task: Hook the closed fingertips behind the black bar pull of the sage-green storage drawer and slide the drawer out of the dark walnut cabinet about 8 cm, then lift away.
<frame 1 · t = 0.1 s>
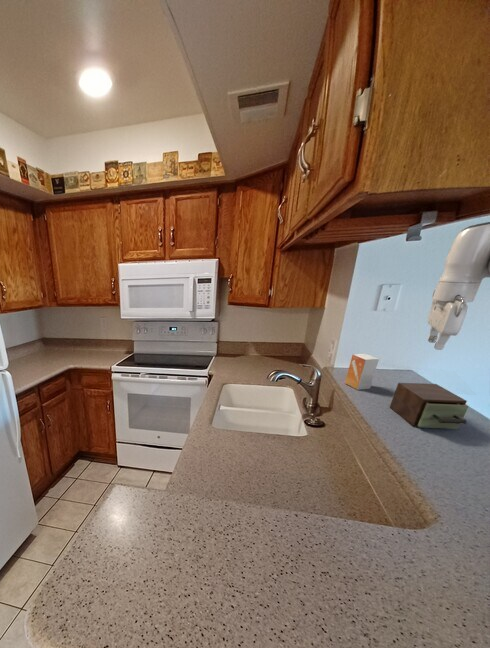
hand: (434, 345, 94), 26 cm above the worktop, tool pointing down, fingers open, 8 cm apart
cabinet: (419, 417, 113), on the worktop
drawer: (433, 410, 107), point 5 cm above the worktop, slide at 1.0 cm
small box: (356, 386, 141), on the worktop
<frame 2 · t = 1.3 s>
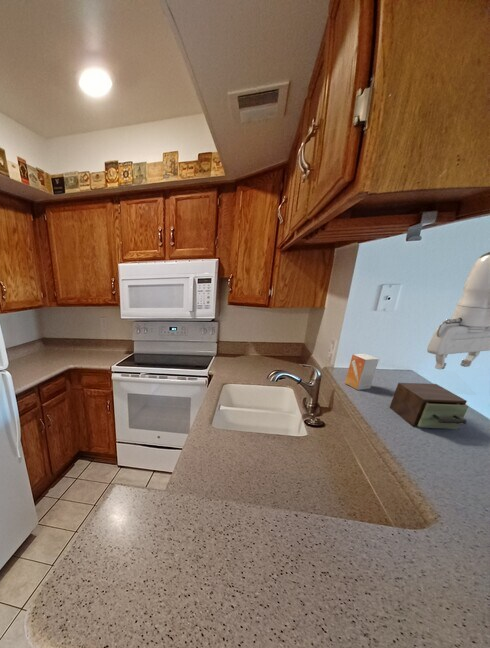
hand: (452, 367, 95), 21 cm above the worktop, tool pointing down, fingers open, 8 cm apart
nothing on the worktop moved.
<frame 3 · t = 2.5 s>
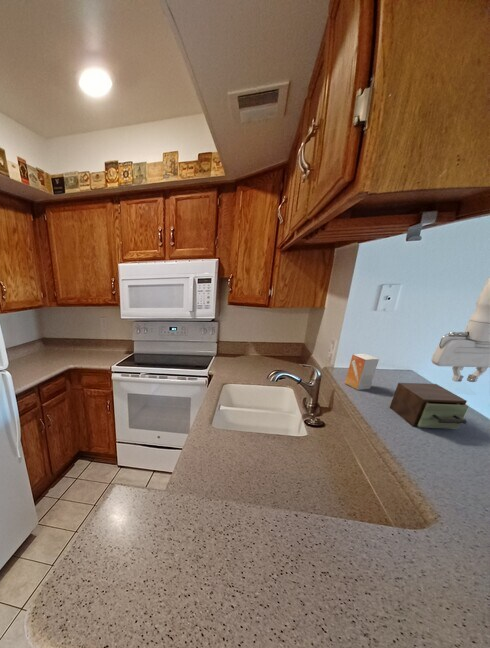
hand: (463, 381, 95), 17 cm above the worktop, tool pointing down, fingers open, 3 cm apart
nothing on the worktop moved.
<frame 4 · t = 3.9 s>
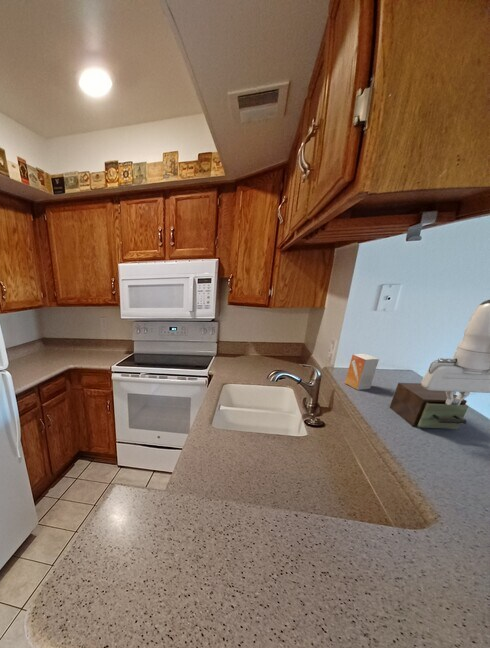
hand: (451, 404, 99), 10 cm above the worktop, tool pointing down, fingers closed
nothing on the worktop moved.
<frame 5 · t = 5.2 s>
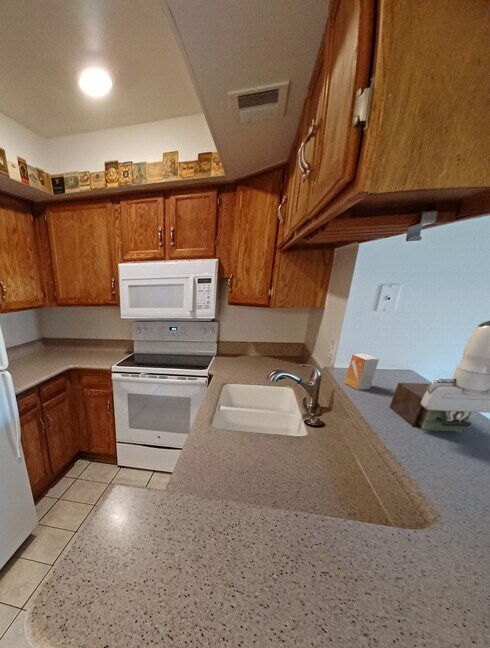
hand: (451, 423, 99), 5 cm above the worktop, tool pointing down, fingers closed, pressing on drawer
drawer: (437, 412, 105), point 5 cm above the worktop, slide at 2.9 cm, touching gripper
everything else where it was.
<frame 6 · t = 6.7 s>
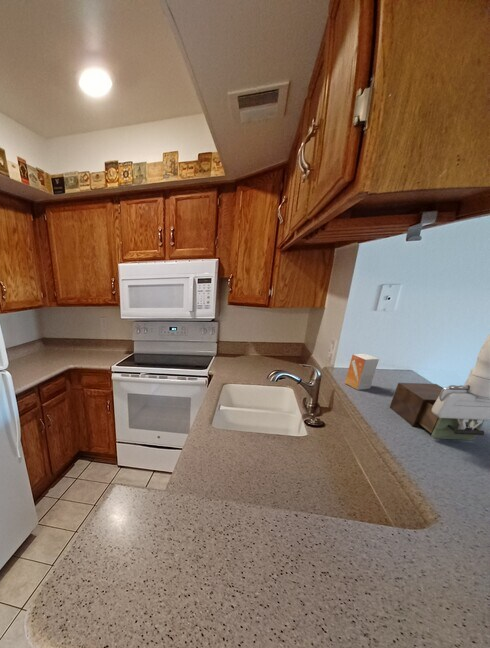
hand: (464, 431, 94), 5 cm above the worktop, tool pointing down, fingers closed, pressing on drawer
drawer: (448, 420, 100), point 5 cm above the worktop, slide at 8.2 cm, touching gripper
everything else where it was.
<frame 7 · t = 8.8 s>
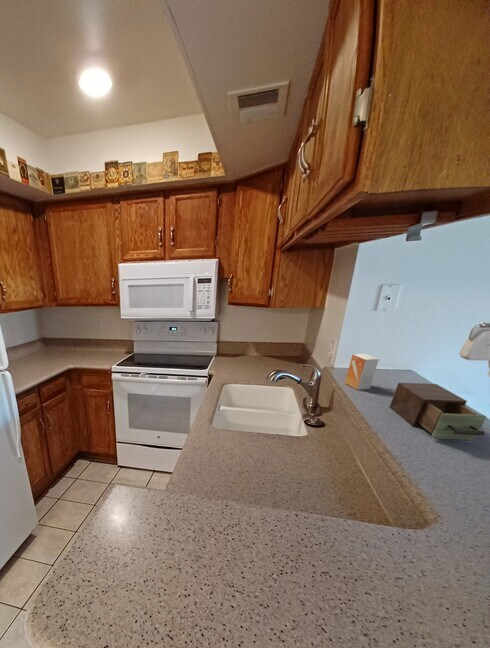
drawer: (448, 420, 100), point 5 cm above the worktop, slide at 8.3 cm
everything else where it was.
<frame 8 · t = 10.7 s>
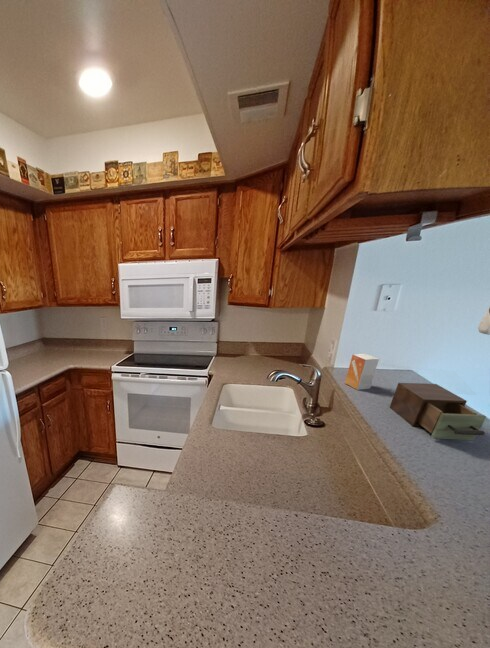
nothing on the worktop moved.
at the end: drawer slide at 8.3 cm; the gripper is holding nothing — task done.
